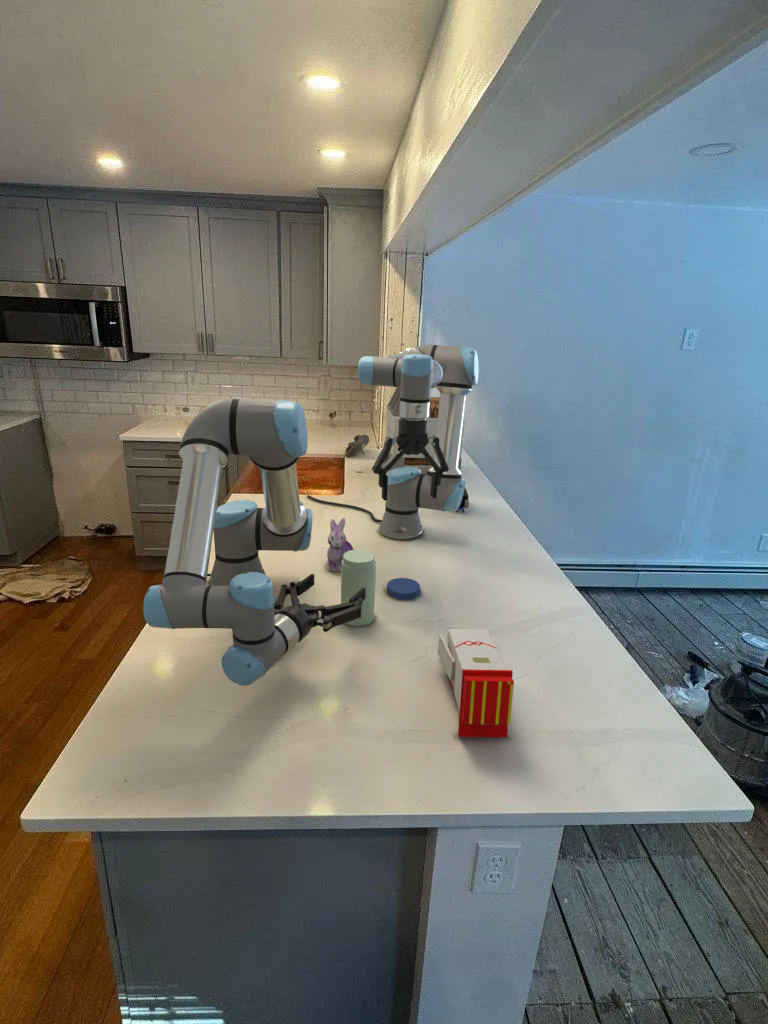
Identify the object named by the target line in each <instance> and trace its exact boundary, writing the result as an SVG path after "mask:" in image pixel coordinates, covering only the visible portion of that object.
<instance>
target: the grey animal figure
mask: <svg viewBox="0 0 768 1024" xmlns="http://www.w3.org/2000/svg"><path fill="white" fill-rule="evenodd" d="M353 440H354V441H350V442H348V444H347V445H348V446H347V447H346V449H345V453H344V455H345V457H346V458H352V457H355V456H356V455H358V454H359V453H361V452H362V454H363V455H364V454H365V453H364V451H363V450H364V449H365V447H367V446H368V444H369V443H370V436H369V435H368V434H365V433H364V434H362V435H361V434H357V435H355V436H354V437H353Z"/></svg>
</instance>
